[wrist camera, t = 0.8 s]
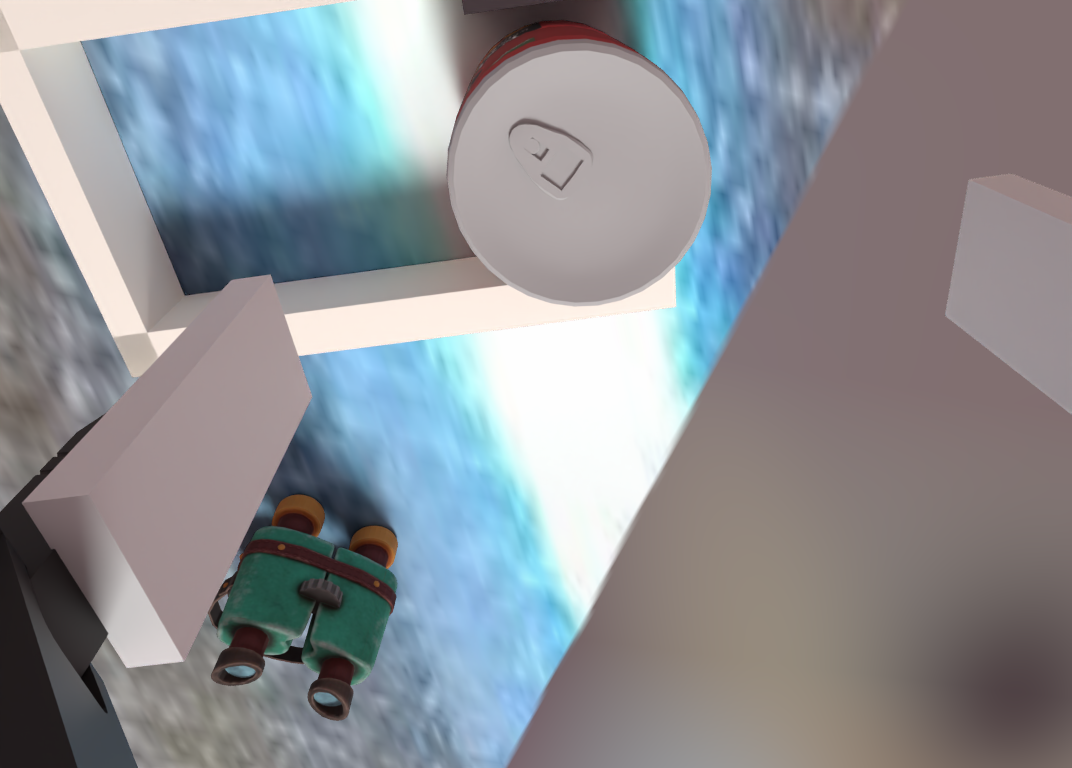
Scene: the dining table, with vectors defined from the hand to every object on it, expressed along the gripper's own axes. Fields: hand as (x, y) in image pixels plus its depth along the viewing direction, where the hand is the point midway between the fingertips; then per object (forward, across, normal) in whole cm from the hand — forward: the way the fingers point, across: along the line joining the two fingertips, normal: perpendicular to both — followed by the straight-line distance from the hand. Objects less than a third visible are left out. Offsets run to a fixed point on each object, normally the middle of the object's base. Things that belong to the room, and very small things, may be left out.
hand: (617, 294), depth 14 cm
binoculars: (+19, -17, -23) cm, 35 cm away
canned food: (+19, 0, 0) cm, 19 cm away
